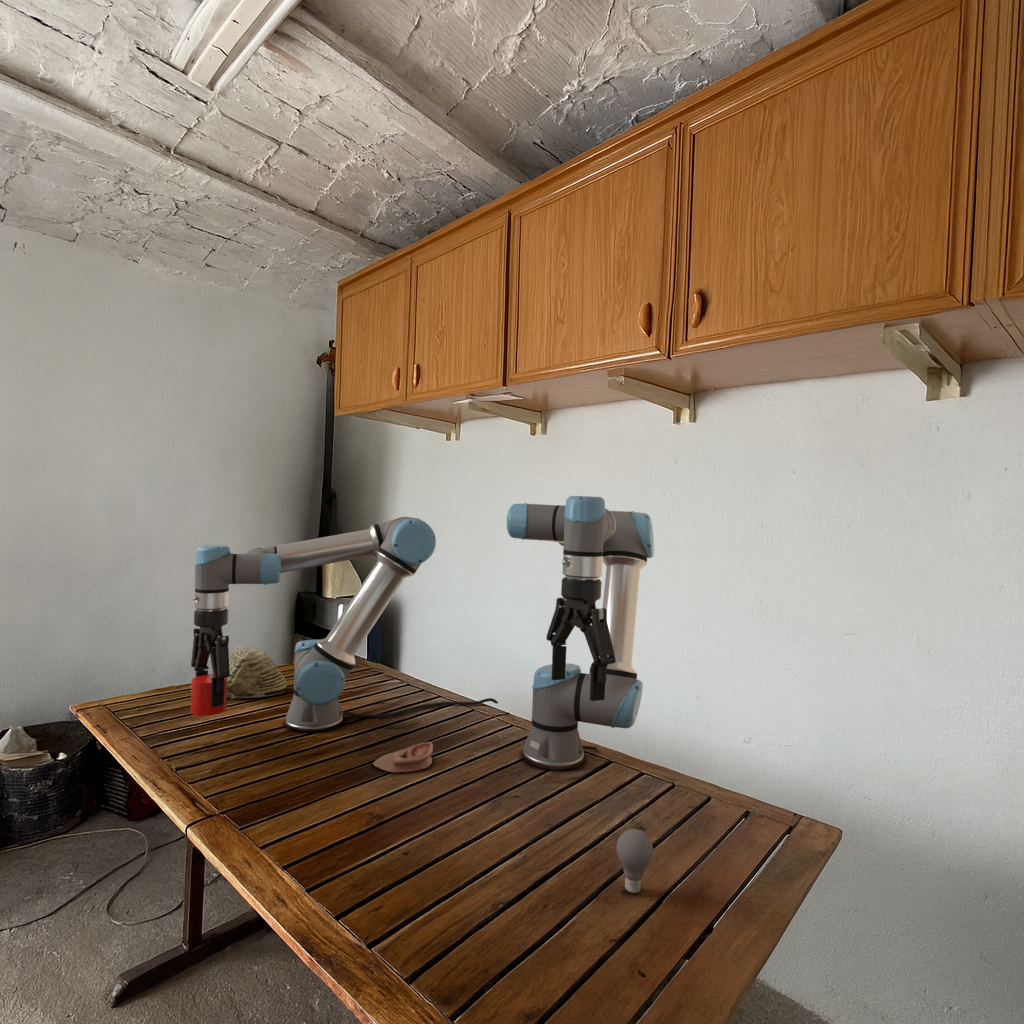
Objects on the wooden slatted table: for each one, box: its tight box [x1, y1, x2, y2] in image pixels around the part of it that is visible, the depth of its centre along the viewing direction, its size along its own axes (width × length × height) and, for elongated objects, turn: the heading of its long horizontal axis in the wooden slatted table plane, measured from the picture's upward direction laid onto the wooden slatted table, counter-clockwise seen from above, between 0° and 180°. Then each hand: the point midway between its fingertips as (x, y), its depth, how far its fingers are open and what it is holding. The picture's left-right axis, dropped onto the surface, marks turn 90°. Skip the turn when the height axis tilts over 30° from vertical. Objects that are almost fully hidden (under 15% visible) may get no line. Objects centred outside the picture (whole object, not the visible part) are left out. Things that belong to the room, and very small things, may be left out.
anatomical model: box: [372, 741, 434, 773], centre depth 152 cm, size 13×4×12 cm
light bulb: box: [615, 828, 654, 894], centre depth 106 cm, size 6×6×10 cm
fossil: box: [227, 646, 288, 699], centre depth 198 cm, size 9×18×15 cm, turn 132°
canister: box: [190, 673, 228, 717], centre depth 155 cm, size 8×8×8 cm
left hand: (209, 701), depth 155 cm, fingers closed on canister, 8 cm apart
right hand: (576, 689), depth 120 cm, fingers open, 13 cm apart
